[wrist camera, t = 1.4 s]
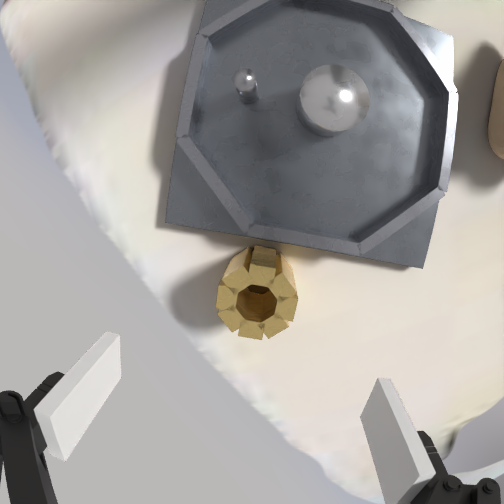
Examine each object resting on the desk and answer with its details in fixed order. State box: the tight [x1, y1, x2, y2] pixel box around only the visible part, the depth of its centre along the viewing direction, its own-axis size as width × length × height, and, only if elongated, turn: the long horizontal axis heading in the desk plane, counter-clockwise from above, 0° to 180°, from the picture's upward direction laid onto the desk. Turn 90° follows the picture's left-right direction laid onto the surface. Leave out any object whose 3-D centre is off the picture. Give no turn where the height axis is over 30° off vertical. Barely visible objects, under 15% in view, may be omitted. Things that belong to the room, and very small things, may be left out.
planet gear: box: [216, 246, 298, 340], centre depth 27 cm, size 6×6×6 cm
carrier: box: [165, 0, 458, 269], centre depth 23 cm, size 24×24×6 cm
